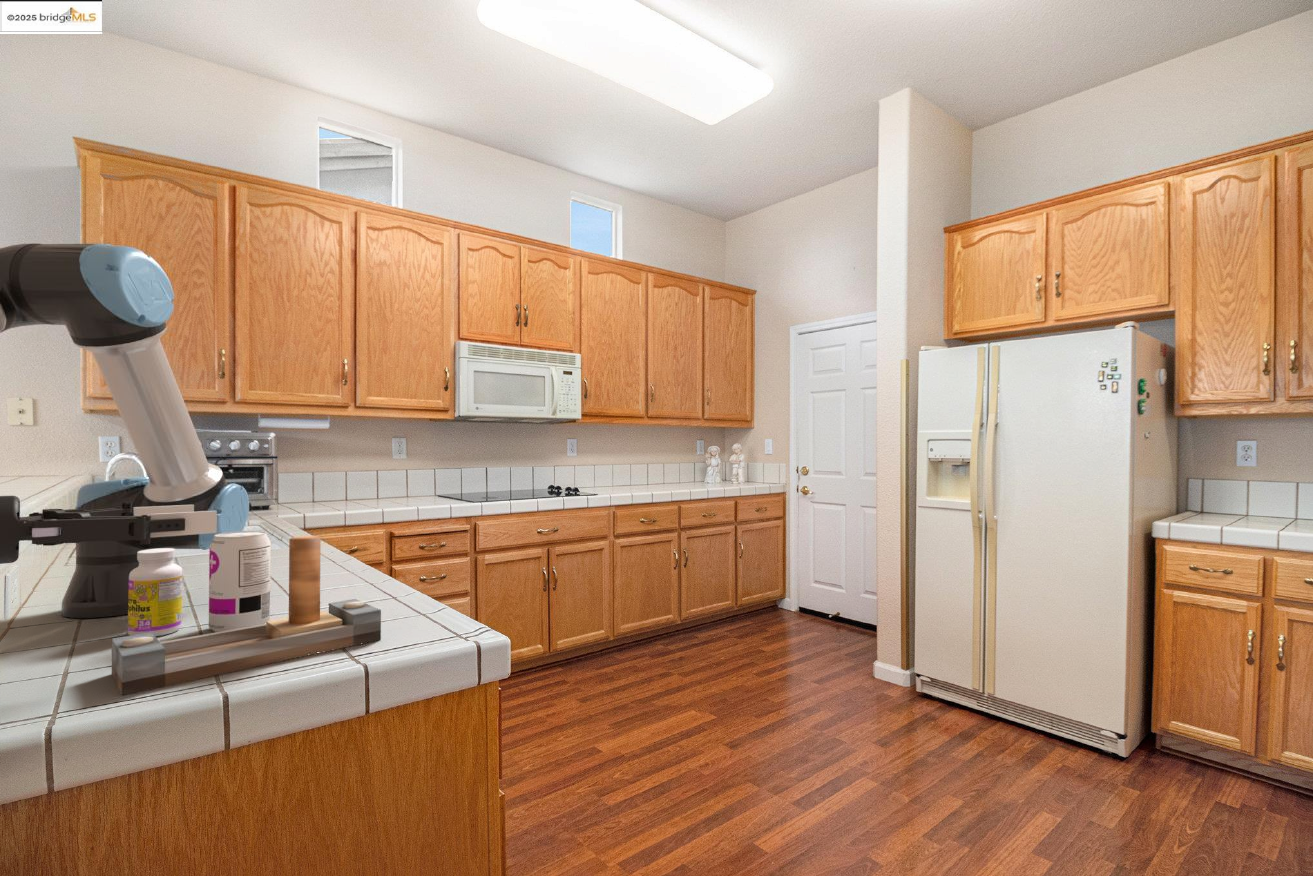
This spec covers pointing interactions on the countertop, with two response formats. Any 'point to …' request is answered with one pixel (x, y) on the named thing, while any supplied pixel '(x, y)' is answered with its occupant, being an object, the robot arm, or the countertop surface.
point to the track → (232, 649)
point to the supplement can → (239, 580)
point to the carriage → (303, 592)
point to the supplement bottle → (155, 593)
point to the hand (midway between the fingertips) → (204, 517)
